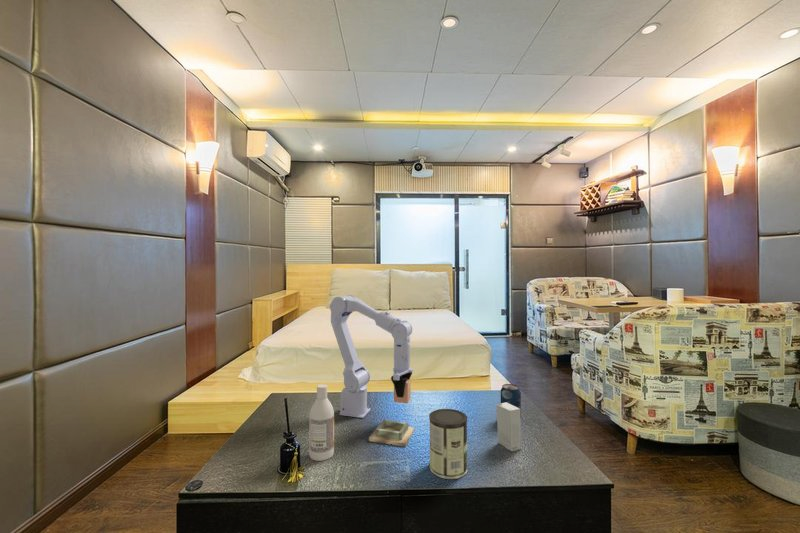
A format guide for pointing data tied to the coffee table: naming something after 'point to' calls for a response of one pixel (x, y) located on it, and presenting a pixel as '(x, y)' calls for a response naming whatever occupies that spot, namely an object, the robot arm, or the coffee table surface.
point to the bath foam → (321, 427)
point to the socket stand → (392, 433)
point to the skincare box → (509, 426)
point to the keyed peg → (406, 395)
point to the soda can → (511, 395)
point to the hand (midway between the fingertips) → (401, 394)
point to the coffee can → (448, 443)
